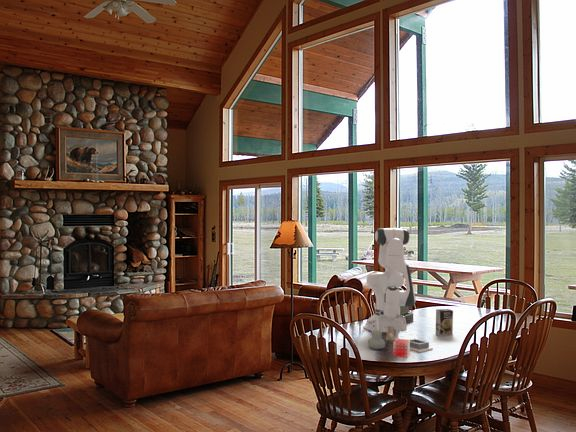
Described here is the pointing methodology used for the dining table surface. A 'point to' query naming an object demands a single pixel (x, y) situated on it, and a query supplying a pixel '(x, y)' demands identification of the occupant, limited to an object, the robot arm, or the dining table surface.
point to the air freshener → (376, 340)
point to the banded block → (390, 335)
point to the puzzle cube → (401, 347)
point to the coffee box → (444, 322)
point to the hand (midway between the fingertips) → (392, 336)
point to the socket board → (419, 345)
